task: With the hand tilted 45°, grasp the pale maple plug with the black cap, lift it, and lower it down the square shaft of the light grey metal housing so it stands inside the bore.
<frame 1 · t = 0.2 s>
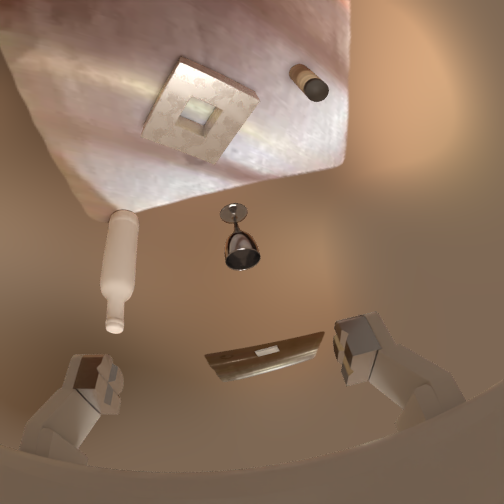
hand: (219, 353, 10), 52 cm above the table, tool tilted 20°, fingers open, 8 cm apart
wine glass: (233, 213, 77), on the table
plug: (299, 73, 50), on the table
bottle: (124, 220, 72), on the table
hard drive: (266, 349, 164), on the table
housing: (197, 106, 53), on the table
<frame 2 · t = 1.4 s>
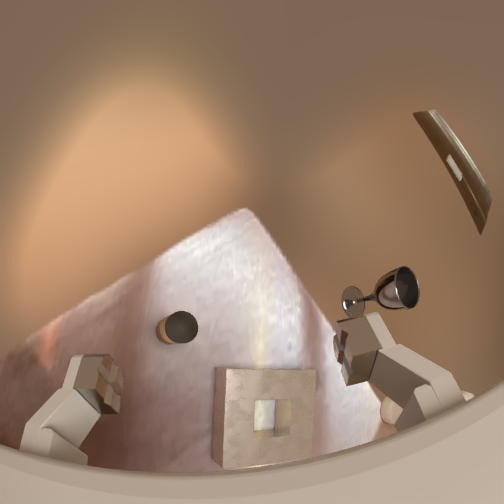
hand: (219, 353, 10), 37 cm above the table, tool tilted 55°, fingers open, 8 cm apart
wine glass: (353, 302, 62), on the table
plug: (168, 331, 44), on the table
bottle: (389, 407, 59), on the table
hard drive: (452, 168, 120), on the table
housing: (258, 413, 46), on the table
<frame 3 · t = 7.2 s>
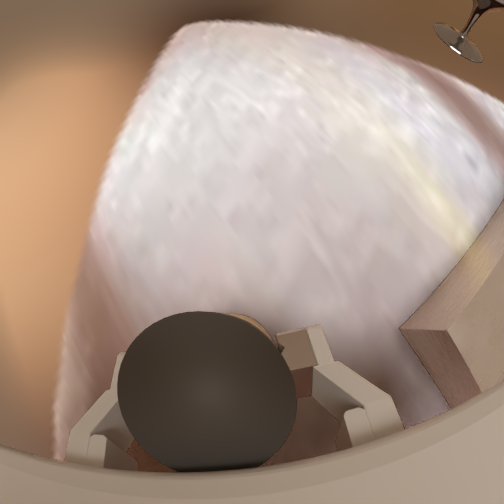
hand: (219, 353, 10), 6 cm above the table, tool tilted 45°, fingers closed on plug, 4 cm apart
wine glass: (458, 42, 22), on the table
plug: (234, 350, 16), on the table, touching gripper
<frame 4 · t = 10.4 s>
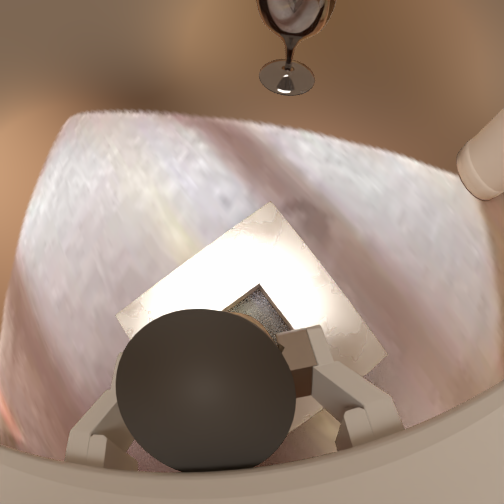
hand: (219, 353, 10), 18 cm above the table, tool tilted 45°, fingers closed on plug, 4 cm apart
wine glass: (287, 77, 34), on the table
plug: (234, 349, 16), point 12 cm above the table, touching gripper
bottle: (475, 174, 31), on the table
housing: (251, 337, 27), on the table
when the fingers open (7 cm above the table, at t = 13.7 s): plug drops 2 cm, resting in housing.
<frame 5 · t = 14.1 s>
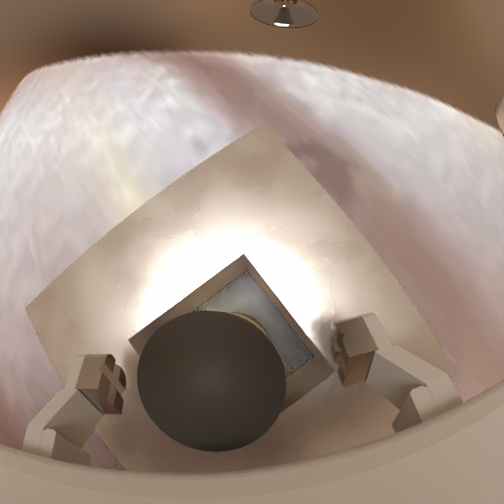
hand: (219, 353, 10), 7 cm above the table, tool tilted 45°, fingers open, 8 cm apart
wine glass: (284, 12, 23), on the table
plug: (234, 346, 17), resting in housing
housing: (236, 347, 17), on the table
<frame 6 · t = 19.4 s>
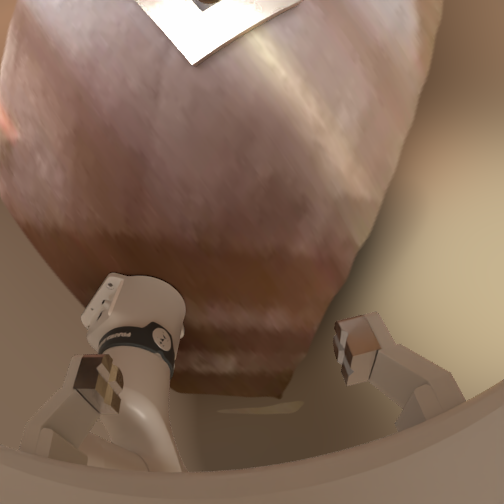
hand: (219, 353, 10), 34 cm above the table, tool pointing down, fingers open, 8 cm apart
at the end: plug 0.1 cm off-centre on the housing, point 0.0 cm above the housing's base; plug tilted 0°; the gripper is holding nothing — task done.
